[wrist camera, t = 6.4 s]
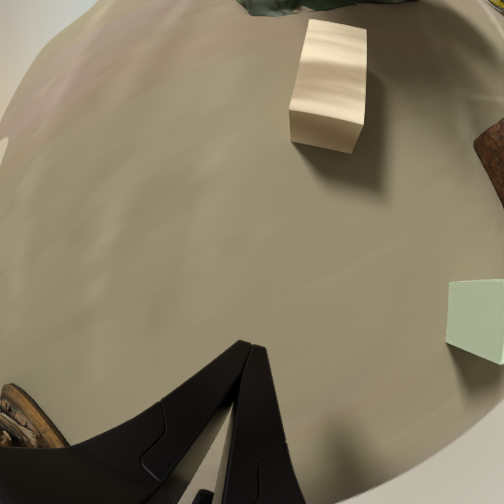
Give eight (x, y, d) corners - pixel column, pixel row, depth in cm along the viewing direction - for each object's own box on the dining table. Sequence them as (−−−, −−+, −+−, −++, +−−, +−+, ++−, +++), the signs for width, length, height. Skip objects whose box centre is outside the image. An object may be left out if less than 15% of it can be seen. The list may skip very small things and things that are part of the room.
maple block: (363, 124, 14) (366, 29, 15) (288, 109, 15) (309, 19, 15) (350, 155, 18) (358, 63, 19) (291, 142, 19) (309, 54, 20)
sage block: (485, 334, 15) (540, 350, 8) (445, 342, 16) (500, 364, 9) (489, 279, 16) (547, 277, 9) (449, 281, 16) (508, 281, 9)
